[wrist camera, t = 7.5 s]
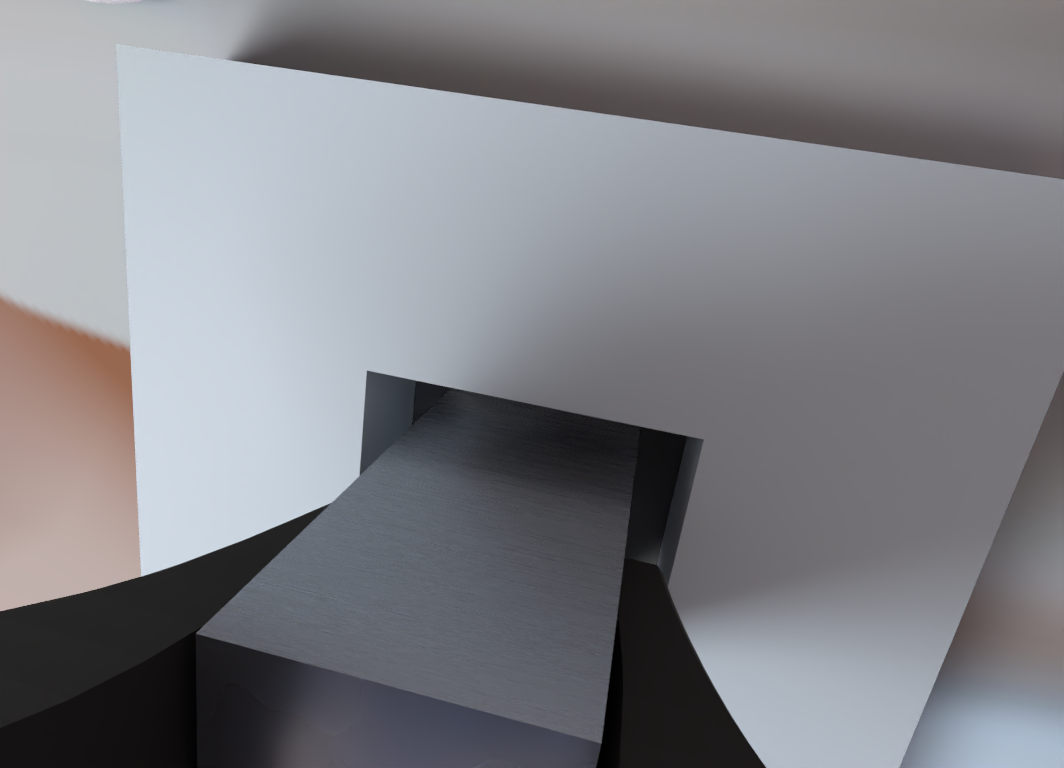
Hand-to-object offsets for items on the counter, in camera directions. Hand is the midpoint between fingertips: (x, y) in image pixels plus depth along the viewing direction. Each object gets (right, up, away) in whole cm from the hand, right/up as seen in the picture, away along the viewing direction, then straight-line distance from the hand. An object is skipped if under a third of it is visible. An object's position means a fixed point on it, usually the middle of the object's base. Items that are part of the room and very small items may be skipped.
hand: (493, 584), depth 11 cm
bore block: (+1, +1, +3) cm, 3 cm away
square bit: (+1, +1, +3) cm, 3 cm away
